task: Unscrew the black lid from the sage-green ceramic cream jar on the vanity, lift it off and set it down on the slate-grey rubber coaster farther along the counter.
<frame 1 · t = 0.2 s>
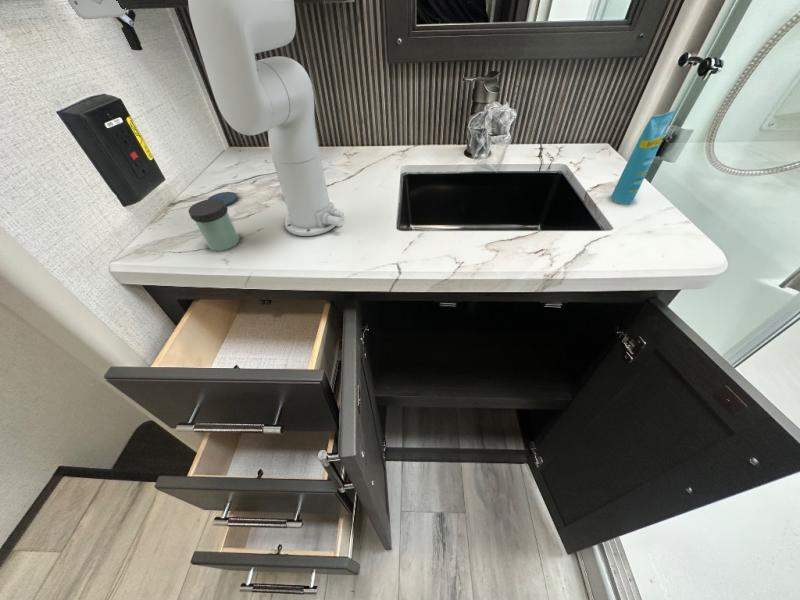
hand: (116, 53, 71), 31 cm above the worktop, tool pointing down, fingers open, 9 cm apart
jar: (224, 242, 73), on the worktop
tube: (621, 200, 81), on the worktop
lid: (207, 208, 67), point 8 cm above the worktop, screwed on, not yet turned
coaster: (222, 200, 87), on the worktop
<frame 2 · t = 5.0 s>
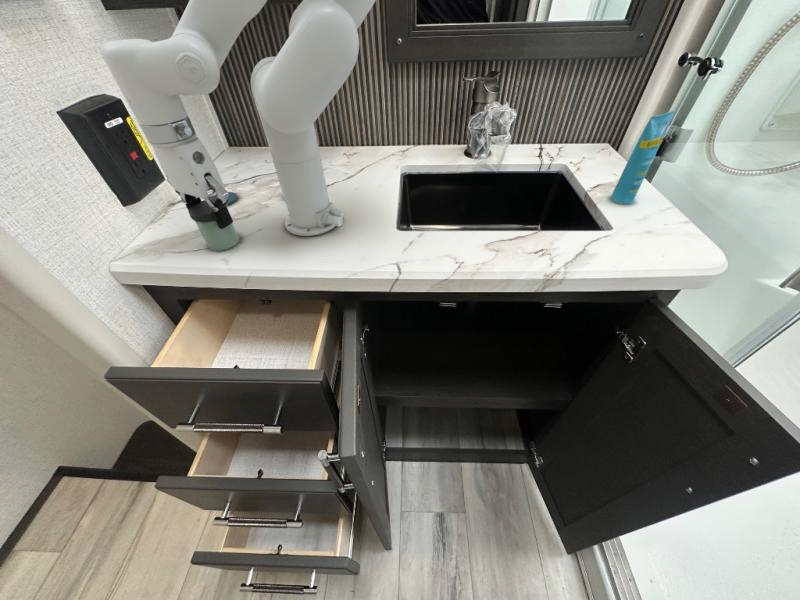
hand: (213, 221, 69), 5 cm above the worktop, tool pointing down, fingers closed on lid, 6 cm apart
lid: (207, 208, 67), point 8 cm above the worktop, screwed on, not yet turned, touching gripper
everything else where it was.
when the fingers open (4 cm above the worktop, at t = 7.3 s): lid stays where it is, point 8 cm above the worktop.
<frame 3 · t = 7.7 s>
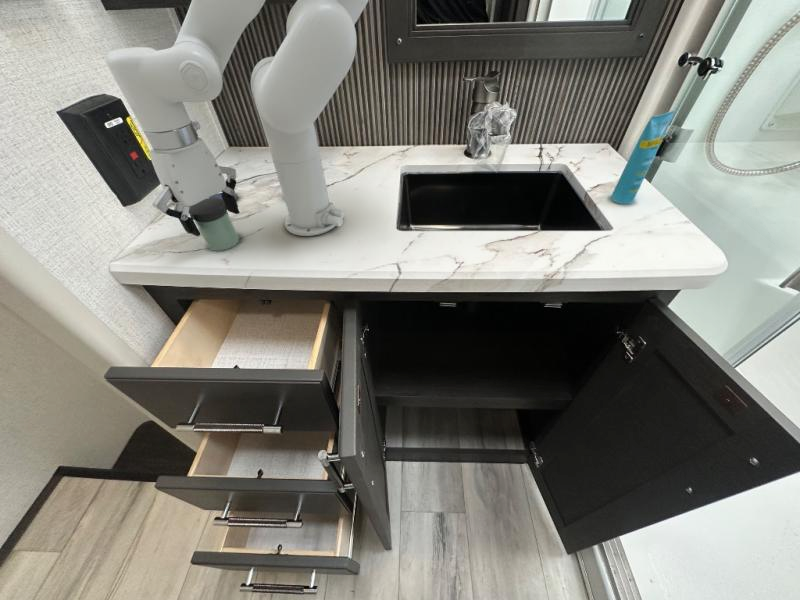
hand: (215, 222, 69), 5 cm above the worktop, tool pointing down, fingers open, 9 cm apart
lid: (207, 207, 67), point 8 cm above the worktop, turned 115° so far, risen 0.2 cm, still on its thread
everything else where it was.
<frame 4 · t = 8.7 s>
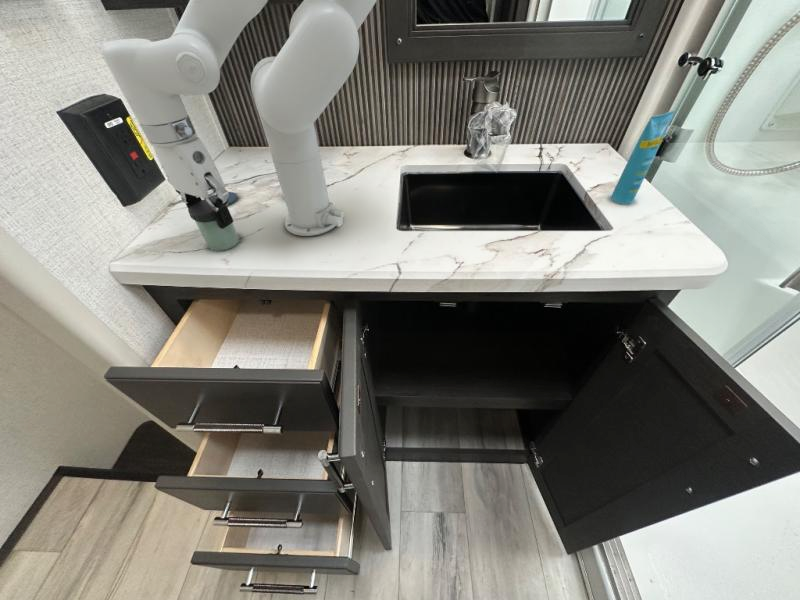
hand: (213, 220, 69), 5 cm above the worktop, tool pointing down, fingers closed on lid, 6 cm apart
lid: (207, 207, 67), point 8 cm above the worktop, turned 116° so far, risen 0.2 cm, still on its thread, touching gripper
everything else where it was.
when the fingers open (5 cm above the worktop, at t = 10.8 s): lid stays where it is, point 9 cm above the worktop.
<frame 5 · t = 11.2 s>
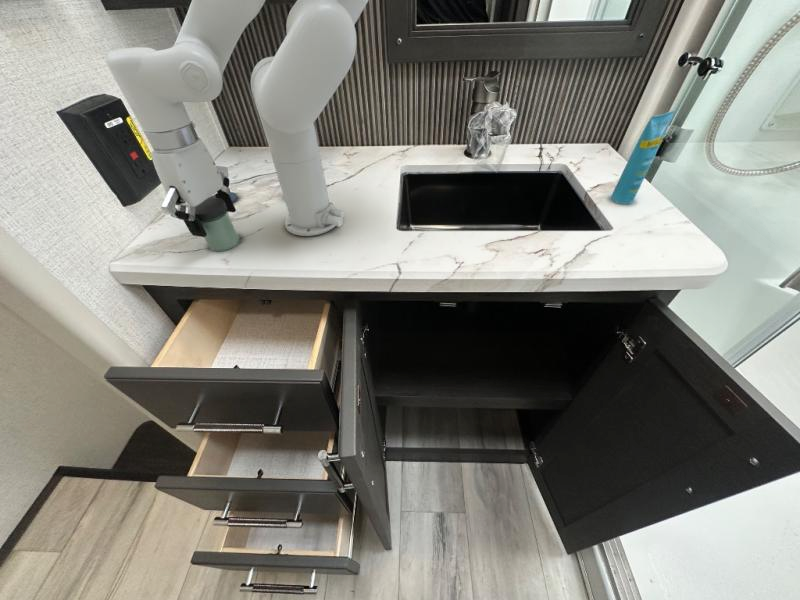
hand: (215, 222, 69), 5 cm above the worktop, tool pointing down, fingers open, 9 cm apart
lid: (207, 207, 67), point 9 cm above the worktop, turned 229° so far, risen 0.3 cm, still on its thread
everything else where it was.
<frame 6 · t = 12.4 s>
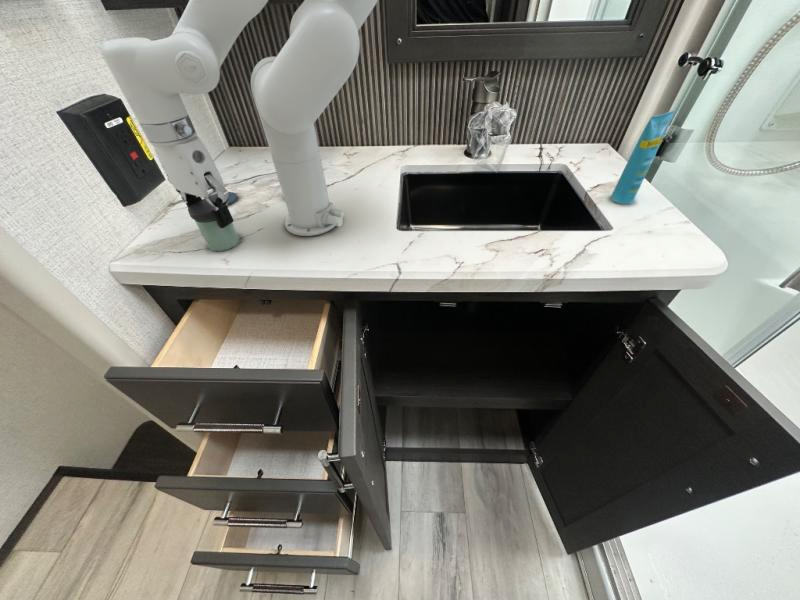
hand: (213, 220, 69), 6 cm above the worktop, tool pointing down, fingers closed on lid, 6 cm apart
lid: (207, 207, 67), point 9 cm above the worktop, turned 229° so far, risen 0.3 cm, still on its thread, touching gripper
everything else where it was.
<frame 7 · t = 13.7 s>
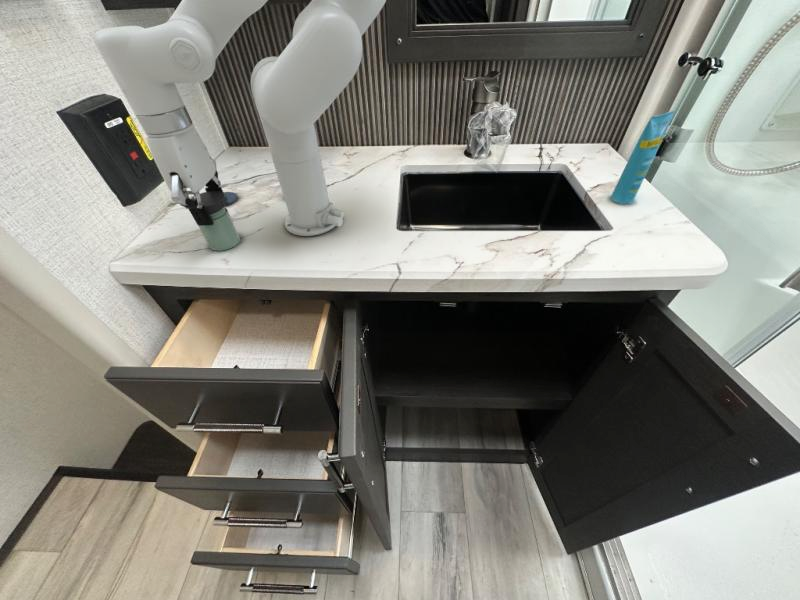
hand: (213, 214, 68), 7 cm above the worktop, tool pointing down, fingers closed on lid, 6 cm apart
jar: (225, 242, 73), on the worktop, touching gripper
lid: (207, 200, 66), point 10 cm above the worktop, off its thread, touching gripper
everything else where it was.
when the fingers open (2 cm above the worktop, at t = 20.9 s): lid drops 4 cm, resting on coaster.
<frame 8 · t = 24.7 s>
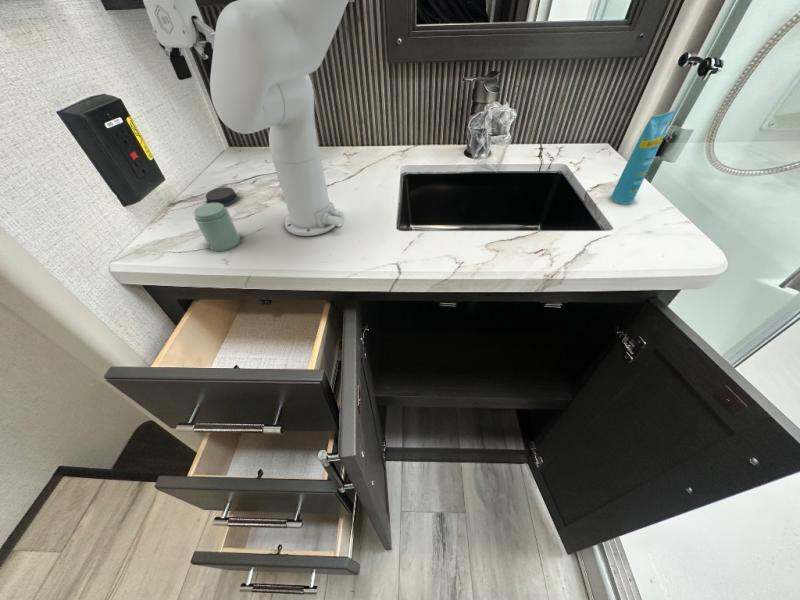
hand: (200, 80, 71), 26 cm above the worktop, tool pointing down, fingers open, 9 cm apart
jar: (225, 242, 73), on the worktop
lid: (220, 194, 86), point 2 cm above the worktop, off its thread, touching coaster
everything else where it was.
at the end: lid inside the target area on the coaster (0.0 cm from its centre), point 1.7 cm above the coaster's base; lid point 1.7 cm above the worktop; the gripper is holding nothing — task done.
